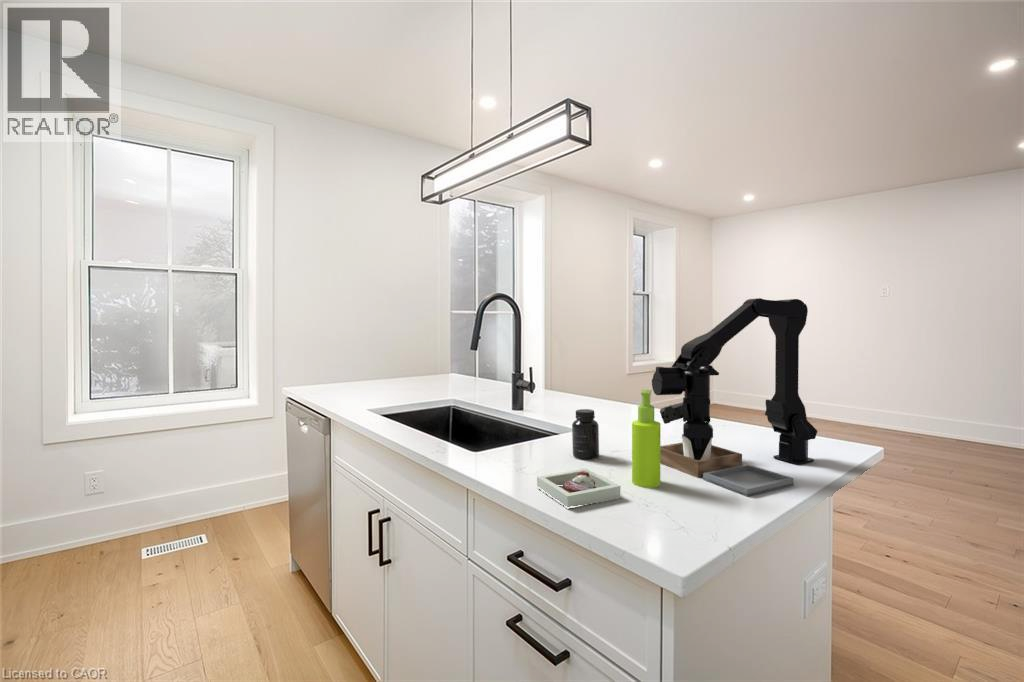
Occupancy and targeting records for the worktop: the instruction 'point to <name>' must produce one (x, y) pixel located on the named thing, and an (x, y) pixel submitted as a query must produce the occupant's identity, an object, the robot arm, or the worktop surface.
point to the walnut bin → (717, 461)
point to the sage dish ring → (602, 493)
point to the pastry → (579, 483)
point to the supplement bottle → (585, 435)
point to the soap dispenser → (646, 445)
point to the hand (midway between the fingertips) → (696, 457)
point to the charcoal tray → (748, 479)
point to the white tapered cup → (689, 452)
